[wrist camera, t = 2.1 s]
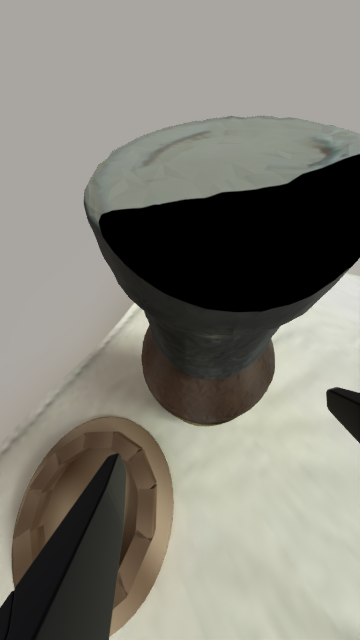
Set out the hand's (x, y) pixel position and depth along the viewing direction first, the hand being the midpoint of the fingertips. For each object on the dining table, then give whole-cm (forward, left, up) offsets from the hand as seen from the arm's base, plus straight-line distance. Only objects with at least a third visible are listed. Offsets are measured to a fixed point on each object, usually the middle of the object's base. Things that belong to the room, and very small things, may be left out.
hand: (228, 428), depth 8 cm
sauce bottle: (+3, +2, -12) cm, 13 cm away
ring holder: (-9, +6, -12) cm, 16 cm away
